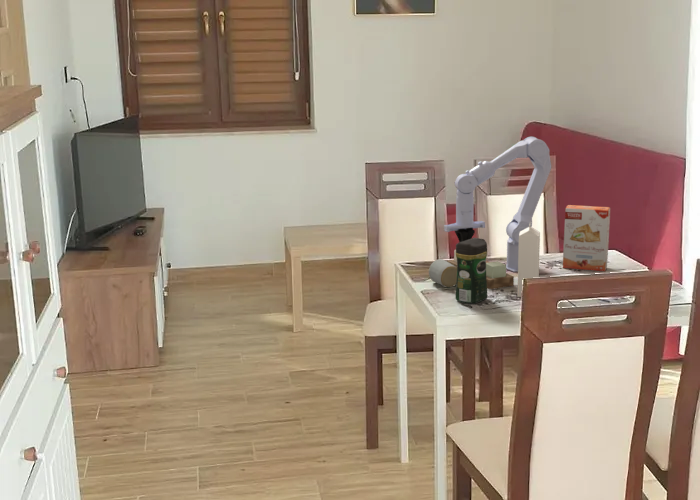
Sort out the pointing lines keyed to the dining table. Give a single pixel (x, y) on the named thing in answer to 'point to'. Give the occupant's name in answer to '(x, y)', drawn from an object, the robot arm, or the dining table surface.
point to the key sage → (495, 269)
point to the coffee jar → (471, 271)
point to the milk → (528, 255)
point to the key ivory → (455, 256)
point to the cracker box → (586, 237)
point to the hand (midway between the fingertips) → (464, 250)
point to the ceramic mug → (443, 273)
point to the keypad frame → (494, 279)
